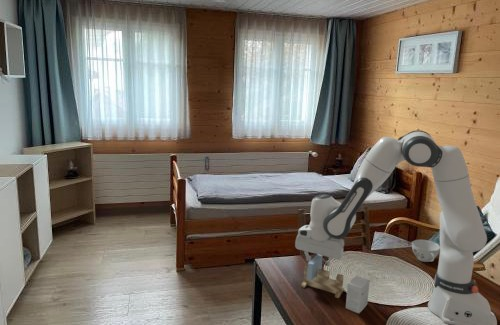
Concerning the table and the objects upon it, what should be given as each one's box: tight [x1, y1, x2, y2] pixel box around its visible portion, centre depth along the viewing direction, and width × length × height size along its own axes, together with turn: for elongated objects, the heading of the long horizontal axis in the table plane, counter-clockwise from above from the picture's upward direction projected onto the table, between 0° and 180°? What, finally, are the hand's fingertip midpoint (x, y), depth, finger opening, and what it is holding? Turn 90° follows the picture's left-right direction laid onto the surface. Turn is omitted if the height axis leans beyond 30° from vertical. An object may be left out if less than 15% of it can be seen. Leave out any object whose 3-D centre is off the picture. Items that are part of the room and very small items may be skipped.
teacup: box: [411, 239, 440, 263], centre depth 181 cm, size 15×12×8 cm
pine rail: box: [300, 264, 345, 299], centre depth 154 cm, size 16×7×8 cm, turn 60°
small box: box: [345, 275, 371, 314], centre depth 142 cm, size 8×6×10 cm
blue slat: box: [307, 254, 324, 281], centre depth 155 cm, size 12×2×7 cm, turn 150°
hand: (317, 263), depth 159 cm, fingers open, 7 cm apart
